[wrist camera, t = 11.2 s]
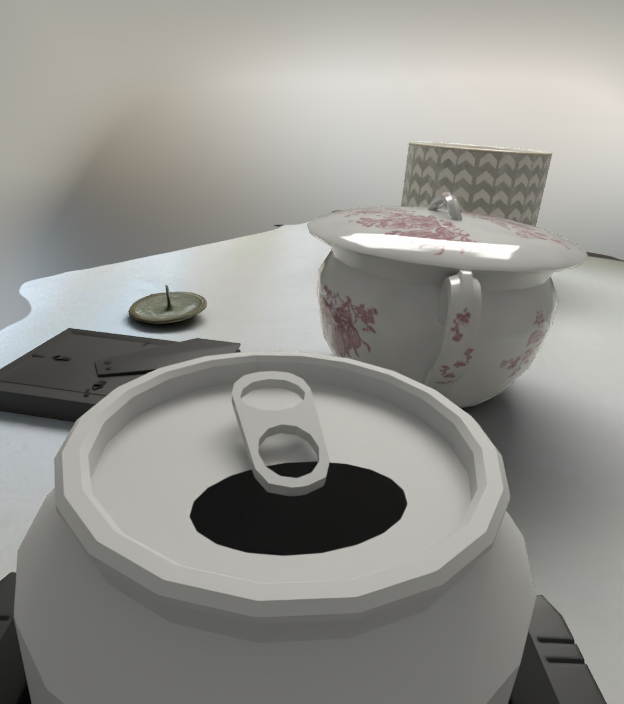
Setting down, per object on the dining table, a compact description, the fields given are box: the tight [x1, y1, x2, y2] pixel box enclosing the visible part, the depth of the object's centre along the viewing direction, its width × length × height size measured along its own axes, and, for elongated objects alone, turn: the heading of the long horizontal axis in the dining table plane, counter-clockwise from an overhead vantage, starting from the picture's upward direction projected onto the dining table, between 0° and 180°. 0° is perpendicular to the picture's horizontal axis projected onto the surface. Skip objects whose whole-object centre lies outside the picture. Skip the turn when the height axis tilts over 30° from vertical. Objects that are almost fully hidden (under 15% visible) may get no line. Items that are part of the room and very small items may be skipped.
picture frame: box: [0, 328, 240, 422], centre depth 55 cm, size 16×3×21 cm
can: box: [14, 351, 536, 704], centre depth 10 cm, size 8×8×12 cm
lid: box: [129, 285, 207, 324], centre depth 74 cm, size 11×10×5 cm
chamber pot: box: [307, 192, 588, 408], centre depth 57 cm, size 28×28×21 cm
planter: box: [401, 141, 552, 227], centre depth 103 cm, size 25×25×24 cm
